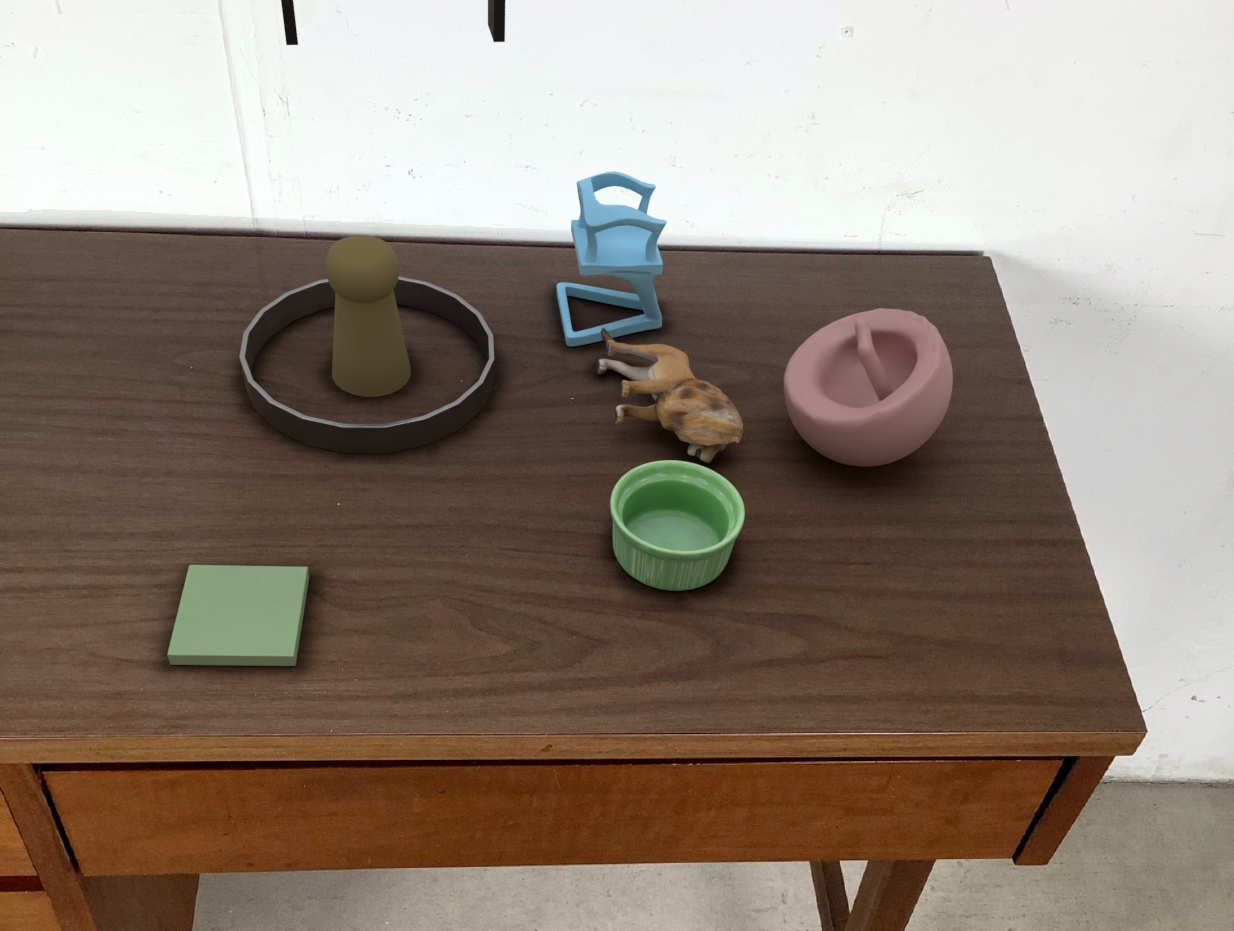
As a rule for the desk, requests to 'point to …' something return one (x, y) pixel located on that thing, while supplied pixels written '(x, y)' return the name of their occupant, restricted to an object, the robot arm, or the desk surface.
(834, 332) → the mortar and pestle
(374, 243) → the olive pawn
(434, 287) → the ring
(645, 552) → the ramekin
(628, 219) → the chair
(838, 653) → the desk surface
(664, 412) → the lion figurine
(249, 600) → the green mat
